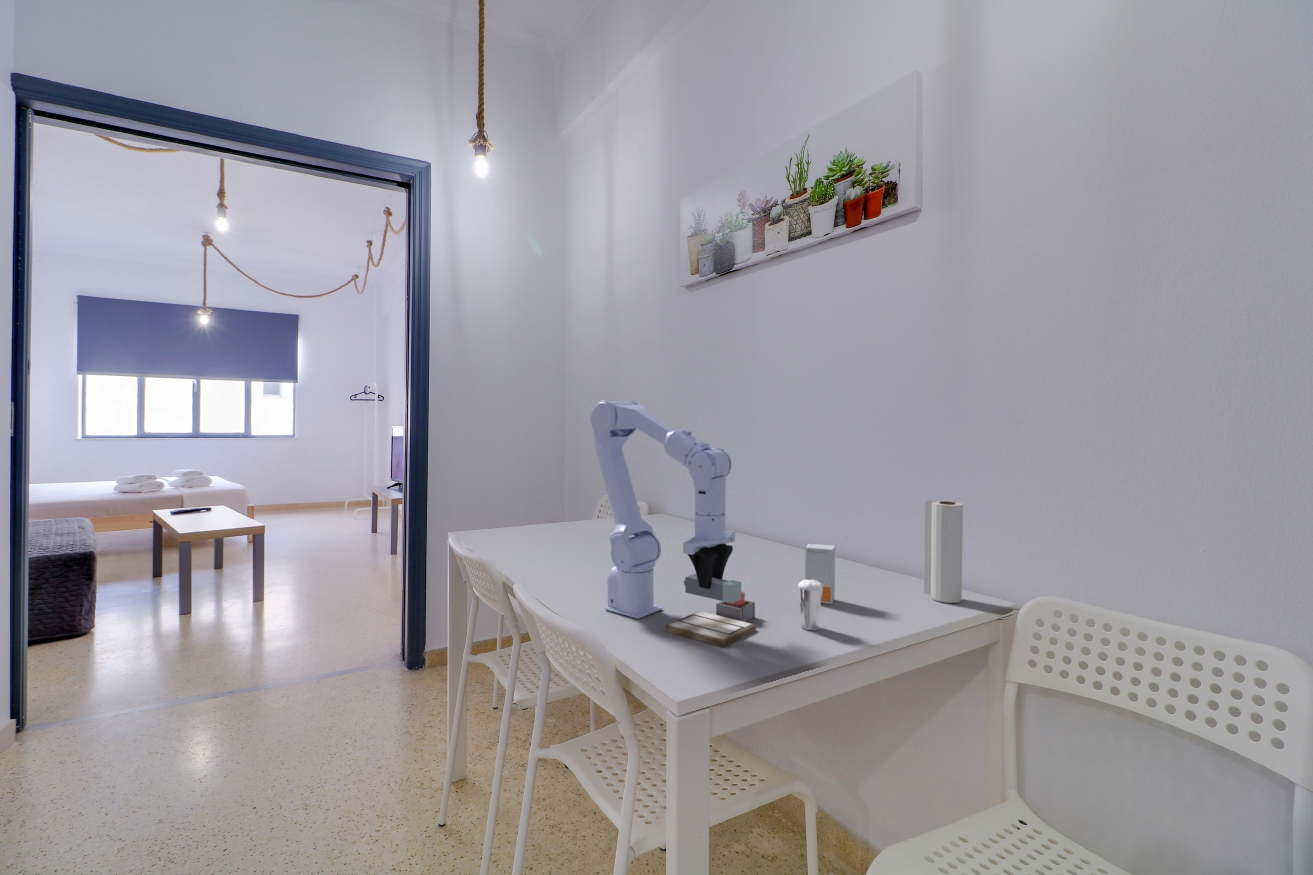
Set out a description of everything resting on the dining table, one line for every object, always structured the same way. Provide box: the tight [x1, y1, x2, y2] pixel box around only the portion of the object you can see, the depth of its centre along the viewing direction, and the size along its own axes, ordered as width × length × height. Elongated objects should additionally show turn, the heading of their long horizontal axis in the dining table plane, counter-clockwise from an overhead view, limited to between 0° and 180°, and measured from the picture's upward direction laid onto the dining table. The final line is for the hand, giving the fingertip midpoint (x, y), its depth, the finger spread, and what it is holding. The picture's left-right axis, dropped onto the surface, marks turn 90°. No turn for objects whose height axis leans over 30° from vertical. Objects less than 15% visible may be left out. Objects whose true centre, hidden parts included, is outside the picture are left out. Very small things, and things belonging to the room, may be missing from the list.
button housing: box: [715, 599, 756, 623], centre depth 121 cm, size 6×6×3 cm
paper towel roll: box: [923, 500, 964, 604], centre depth 132 cm, size 7×6×21 cm
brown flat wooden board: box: [664, 610, 756, 649], centre depth 114 cm, size 13×11×1 cm
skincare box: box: [804, 543, 836, 605], centre depth 131 cm, size 6×4×12 cm
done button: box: [727, 590, 746, 608], centre depth 121 cm, size 4×4×3 cm
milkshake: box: [797, 578, 827, 632], centre depth 114 cm, size 4×5×10 cm
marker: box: [683, 573, 742, 603], centre depth 113 cm, size 12×3×3 cm, turn 51°
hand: (710, 585), depth 113 cm, fingers closed on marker, 3 cm apart
